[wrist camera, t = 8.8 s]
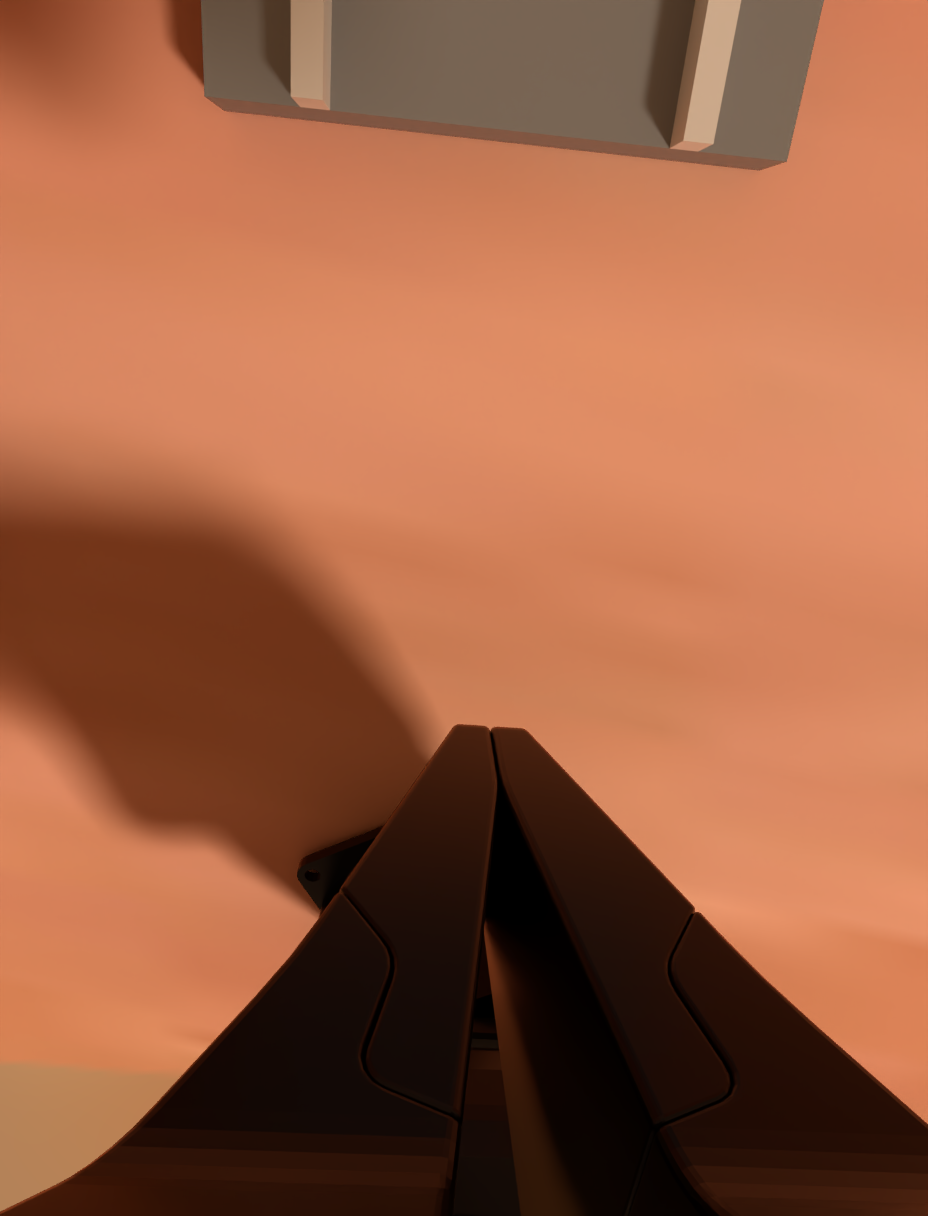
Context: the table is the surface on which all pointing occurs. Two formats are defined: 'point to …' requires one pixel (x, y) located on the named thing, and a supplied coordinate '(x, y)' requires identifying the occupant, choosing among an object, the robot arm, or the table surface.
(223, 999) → the table surface
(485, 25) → the grey railed base plate
